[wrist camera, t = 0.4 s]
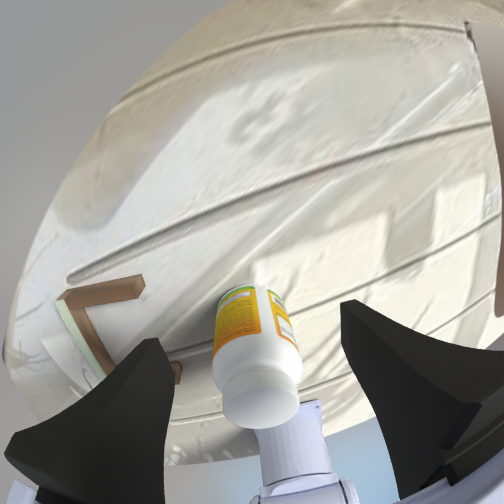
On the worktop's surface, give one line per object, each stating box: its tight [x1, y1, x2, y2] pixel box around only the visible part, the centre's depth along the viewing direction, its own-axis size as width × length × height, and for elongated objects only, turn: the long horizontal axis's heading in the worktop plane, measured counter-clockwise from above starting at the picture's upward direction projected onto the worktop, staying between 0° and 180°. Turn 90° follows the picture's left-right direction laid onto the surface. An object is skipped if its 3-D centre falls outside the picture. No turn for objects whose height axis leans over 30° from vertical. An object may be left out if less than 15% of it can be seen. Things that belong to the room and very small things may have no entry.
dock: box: [54, 274, 182, 385], centre depth 20 cm, size 10×8×2 cm
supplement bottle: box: [212, 284, 302, 429], centre depth 17 cm, size 5×5×10 cm
